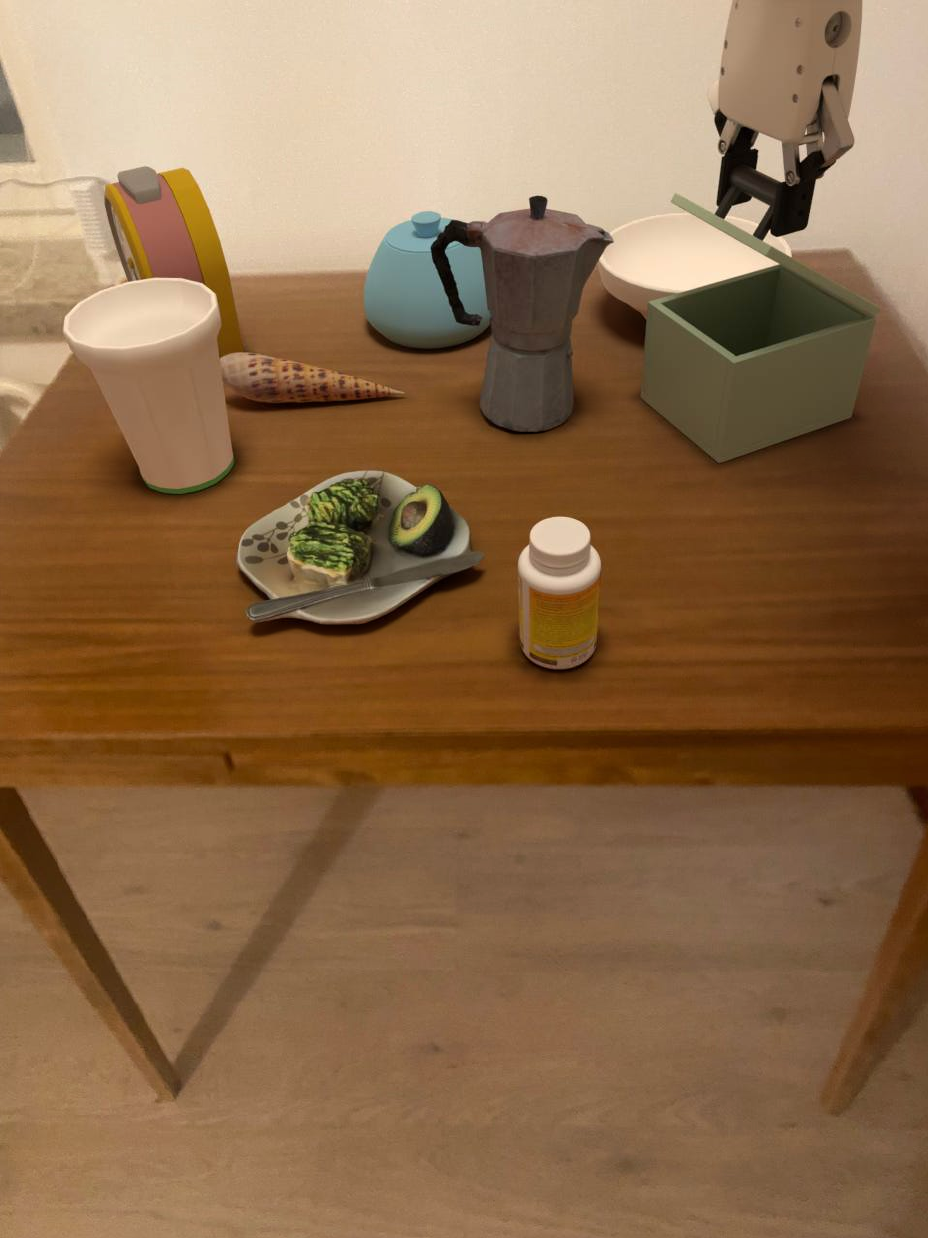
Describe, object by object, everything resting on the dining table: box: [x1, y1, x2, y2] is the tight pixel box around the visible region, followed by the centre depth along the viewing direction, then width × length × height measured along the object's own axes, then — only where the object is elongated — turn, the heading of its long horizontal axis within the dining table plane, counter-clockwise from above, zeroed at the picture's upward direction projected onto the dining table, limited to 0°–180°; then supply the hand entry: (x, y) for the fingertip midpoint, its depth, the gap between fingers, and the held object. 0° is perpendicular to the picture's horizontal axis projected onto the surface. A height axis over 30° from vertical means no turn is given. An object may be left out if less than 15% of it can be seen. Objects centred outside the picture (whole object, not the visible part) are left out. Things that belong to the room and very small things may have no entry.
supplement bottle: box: [517, 516, 602, 670], centre depth 66 cm, size 6×6×10 cm
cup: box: [62, 278, 235, 495], centre depth 83 cm, size 12×12×15 cm
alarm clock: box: [103, 165, 245, 358], centre depth 99 cm, size 15×8×18 cm, turn 27°
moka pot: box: [430, 195, 614, 433], centre depth 86 cm, size 10×15×20 cm, turn 89°
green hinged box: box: [639, 264, 877, 464], centre depth 87 cm, size 15×13×10 cm
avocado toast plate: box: [235, 469, 486, 625], centre depth 76 cm, size 19×18×5 cm
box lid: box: [670, 164, 881, 317], centre depth 80 cm, size 15×13×5 cm
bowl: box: [597, 212, 793, 321], centre depth 102 cm, size 20×20×7 cm
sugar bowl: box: [363, 210, 491, 350], centre depth 103 cm, size 15×15×12 cm
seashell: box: [220, 351, 407, 404], centre depth 94 cm, size 4×18×5 cm, turn 85°
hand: (760, 215), depth 78 cm, fingers closed on box lid, 6 cm apart
